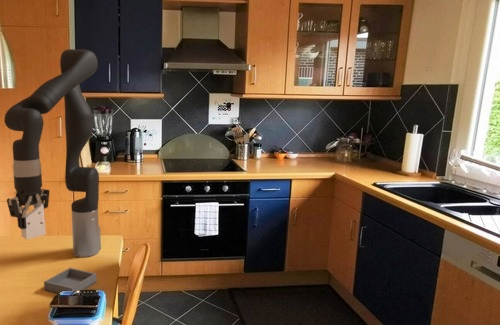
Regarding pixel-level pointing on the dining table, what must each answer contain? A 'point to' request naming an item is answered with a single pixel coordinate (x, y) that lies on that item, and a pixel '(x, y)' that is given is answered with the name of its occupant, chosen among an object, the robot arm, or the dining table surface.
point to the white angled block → (34, 223)
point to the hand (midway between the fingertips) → (31, 225)
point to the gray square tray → (70, 281)
